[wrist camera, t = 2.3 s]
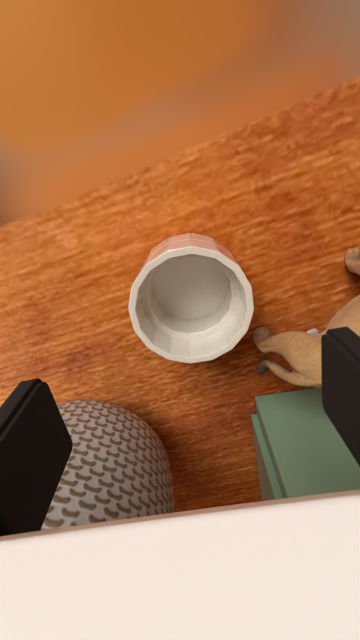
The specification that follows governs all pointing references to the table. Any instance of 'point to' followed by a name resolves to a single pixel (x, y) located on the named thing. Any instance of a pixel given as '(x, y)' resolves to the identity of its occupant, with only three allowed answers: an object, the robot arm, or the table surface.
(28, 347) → the table surface
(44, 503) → the robot arm
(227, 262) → the bowl
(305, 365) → the lion figurine
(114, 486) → the planter
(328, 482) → the stand
